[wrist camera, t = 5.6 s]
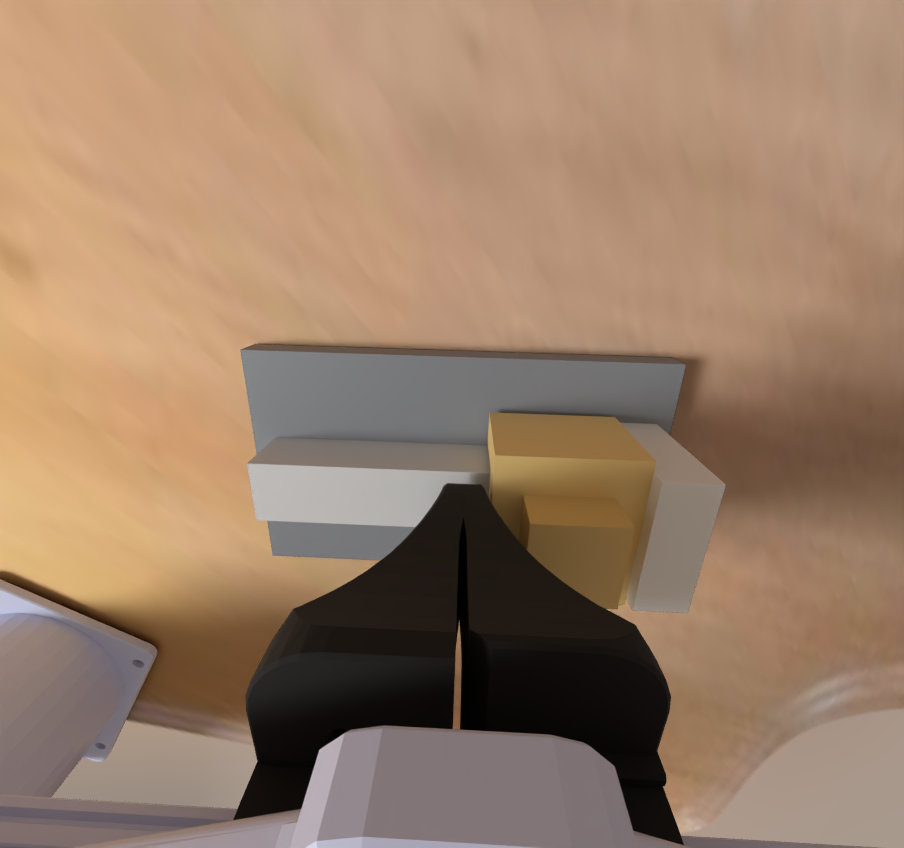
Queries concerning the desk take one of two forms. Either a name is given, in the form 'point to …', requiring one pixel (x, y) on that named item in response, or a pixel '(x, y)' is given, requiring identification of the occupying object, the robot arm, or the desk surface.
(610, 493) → the slider
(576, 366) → the rail board
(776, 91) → the desk surface
